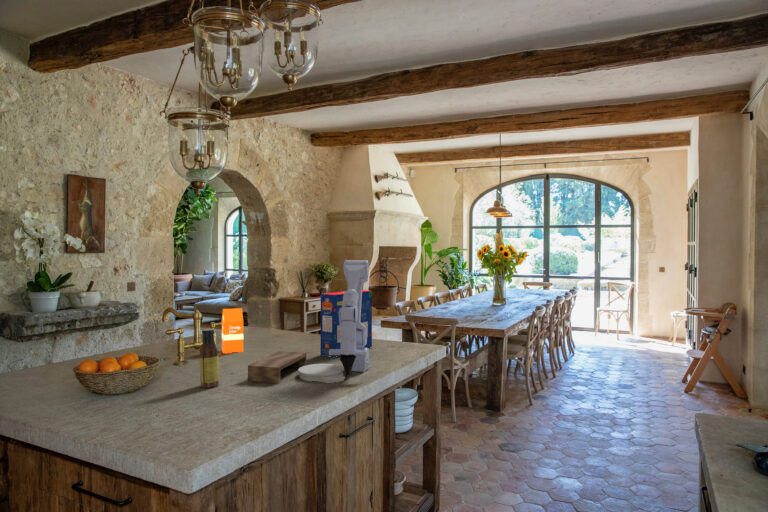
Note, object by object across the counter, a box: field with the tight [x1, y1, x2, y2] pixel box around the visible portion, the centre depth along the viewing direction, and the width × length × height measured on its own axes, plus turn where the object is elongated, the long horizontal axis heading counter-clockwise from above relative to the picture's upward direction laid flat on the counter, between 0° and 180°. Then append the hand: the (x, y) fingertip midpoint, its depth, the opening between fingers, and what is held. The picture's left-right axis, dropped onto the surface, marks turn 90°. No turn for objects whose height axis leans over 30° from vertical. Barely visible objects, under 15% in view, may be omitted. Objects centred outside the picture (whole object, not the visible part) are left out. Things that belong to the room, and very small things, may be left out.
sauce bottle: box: [199, 328, 220, 389], centre depth 175 cm, size 6×6×20 cm
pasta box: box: [320, 289, 373, 358], centre depth 234 cm, size 28×8×28 cm, turn 145°
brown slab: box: [247, 350, 307, 384], centre depth 192 cm, size 12×26×6 cm, turn 167°
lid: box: [297, 363, 346, 384], centre depth 188 cm, size 17×20×3 cm
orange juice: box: [221, 307, 244, 354], centre depth 233 cm, size 8×9×20 cm
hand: (348, 375), depth 186 cm, fingers closed
